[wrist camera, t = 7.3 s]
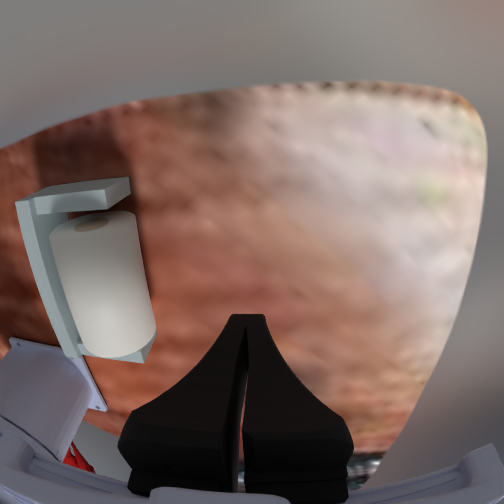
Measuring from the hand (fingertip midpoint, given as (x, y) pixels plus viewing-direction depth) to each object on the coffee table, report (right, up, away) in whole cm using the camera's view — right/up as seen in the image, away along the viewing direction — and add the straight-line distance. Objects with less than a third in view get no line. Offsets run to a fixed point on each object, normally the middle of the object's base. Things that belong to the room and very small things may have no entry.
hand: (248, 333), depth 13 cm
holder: (-10, +3, +6) cm, 12 cm away
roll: (-8, +2, +4) cm, 9 cm away
